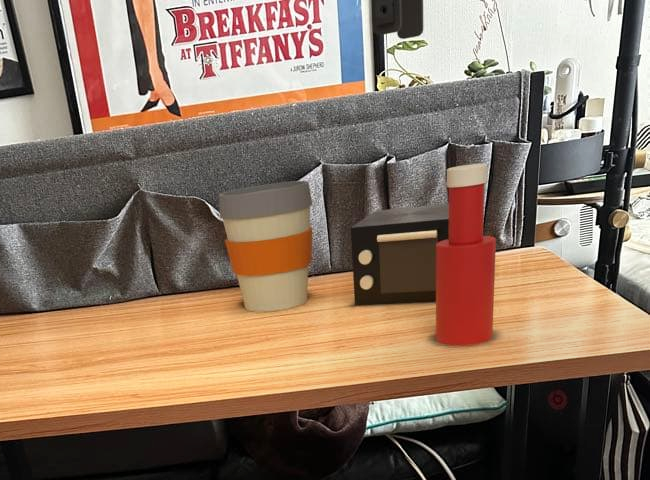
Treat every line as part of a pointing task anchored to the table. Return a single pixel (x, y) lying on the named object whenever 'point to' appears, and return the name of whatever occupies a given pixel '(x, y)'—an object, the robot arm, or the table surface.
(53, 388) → the table surface
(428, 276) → the toaster oven
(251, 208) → the reusable coffee cup
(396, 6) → the robot arm
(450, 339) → the ketchup bottle
